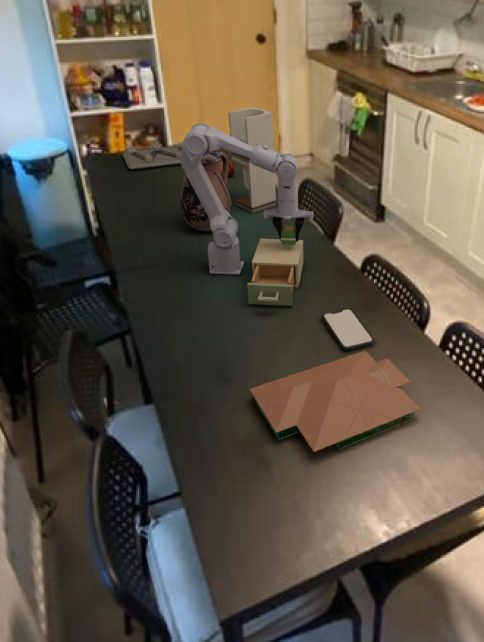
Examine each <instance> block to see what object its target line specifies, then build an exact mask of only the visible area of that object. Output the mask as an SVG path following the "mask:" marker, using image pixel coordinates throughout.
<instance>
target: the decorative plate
mask: <svg viewBox="0 0 484 642" xmlns="http://www.w3.org/2000/svg"><path fill="white" fill-rule="evenodd" d="M181 144H182V141H179V142H177V145H176V146H175V145H174V146H167V147H163V144H162V143H160V141H152V142H151V141H150V143H149V145H150V146H148V149H139V150H138V148H137V147H135V146H132V145H129V146H128V147H125V149H126V150H124V152H123V153H122V157H123V159H124V161H125V163H126V166H127V168H128V169H129V170H130V171H137V170H146V169H154V168H163V167H170V166H171V167H172V166H181V153H182V147H181Z"/></svg>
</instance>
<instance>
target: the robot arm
mask: <svg viewBox="0 0 484 642" xmlns="http://www.w3.org/2000/svg"><path fill="white" fill-rule="evenodd" d="M181 143H182V144H181V147H182V153H181V164H180V166H181V167H182V169H183V171H184V174H185V173H186V175H187V177H188V179H189V181H190V183H191V185H192V186H193V188H194V190H195V192H196V194H197V196H198V198H199V200H200V202H201V204H202V206H203V207H204V209H205V211H206V213H207V215H208V217H209V219H210V227H211V230H212V231H211V232H212V240H213V241H209V243H208V246H207V257H208V266H209V267H208V268H209V270H208V271H209V272H208V273H209V274H211V275H214V274H216V275H234V276H235V275H237V276H238V275H240V274H241V273H242V270H243V267H244V265H245V261H244V260H241V249H240V239H239V238H238V236H237V233H238V231H239V227H240V226H239V223H238V221H237V220H236V219H235V218H233V217H232V215H231V214H230V213H229V212H228V211H226V210H225V209H224V207H223V205H222V203H221V201H220V199H219V197H218V195H217V193H216V191H215V189H214V187H213V186H212V184H211V182H210V180H209V178H208V176H207V174H206V172H205V170H204V168H203V166H202V164H201V159H202V157H203V154H204V153H205V152H206V153H207V150H208V149H209V151H208V152H209V153H214V152H217V151H220V150H224V151H227V152H230V153H231V154H232V153H235V154H238V155H241V156H244V157H247V158H249V159H250V161H251V163H252V164H253V165H255V166H258V167H260V168H262V169H265V170H267V171H270V172H272V173H275V176H277V201H278V202H277V203H278V204H277V205H278V208H272V209H263V219H268V218H272V220H271V222H272V223H271V224H272V225H273V227H274V228H275V230H276V232H277V234H278V239H281V231H282V227H283V220H288V221H289V220H292V219H295V222H294V225H295V227H296V242H298V240H300V238H299V237H300V233H301V230H302V228H303V226H304V225H305V224H304V223H305V220H309V221H313V220H314V211H313V210H312V211H311V210H305V209H299V187H298V186H299V185H298V183H299V182H298V176H297V175H298V167H299V163H298V160H297V158H296V157H295V156H294V155H293V154H291V153H284V152H278V151H275V150H274V151H273V150H271V149H268V146H267V145H264V146H261V145H258V146H255V147H252V146H250V145H248V144H246V143H244V142H242V141H240V140H238V139H236V138H233V137H231V136H230V134H228V133H225V132H223V131H221V130H219V129H218V128H216V127H214V126H209V125H207V124H206V123H202V122H199V123H195V124H194V125H193V126H192V127H191V128H190V131H189V132H188V133H187V134H186V135H185V137H184V138H183V140H182V141H181ZM280 241H281V240H280Z"/></svg>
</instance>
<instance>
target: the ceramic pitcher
mask: <svg viewBox="0 0 484 642" xmlns="http://www.w3.org/2000/svg"><path fill="white" fill-rule="evenodd" d="M221 161H223V171H222V176H221V174H220V172H219V169H218V162H221ZM228 161H229V159H228V156H227V155H226V153H225V152H224V151H215V152H209V151H208V152H207V151H206V152H205V153H204V154H203V157H202V159H201V164H202V166H203V168H204V170H205V172H206V174H207V176H208V178H209V180H210V182H211V184H212V186H213V187H214V189H215V191H216V193H217V195H218V197H219V199H220V201H221V203H222V205H223V207H224V209H225V210H226V211H228V212H229V213H230V215H231V214H232V211H233V205H232V199H231V196H230V193H229V190H228V188H227V184H228V169H229V162H228ZM179 200H180V203H179V204H180V211H181V215H182V216H183V219H184V221H185V222H186V223H187V224H188V225H189V226H190V227H191V228H193V229H195V230H197V231H200V232H212V230H211V227H210V219H209V217H208V215H207V213H206V211H205V209H204V207H203V206H202V204H201V202H200V200H199V198H198V196H197V194H196V192H195V190H194V188H193V186H192V185H191V183H190V181H189V179H188V177H187V175H186V173H185V172H184V177H183V180H182V186H181V192H180V199H179Z"/></svg>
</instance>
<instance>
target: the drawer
mask: <svg viewBox="0 0 484 642" xmlns="http://www.w3.org/2000/svg"><path fill="white" fill-rule="evenodd" d="M294 283H295V266H276V265H256V268H255V271H254V274H253V273H252V277H251V282H247V285H246V288H247V299H248V300H247V301H248V304H249V305H271V306H293V303H294V302H293V291H294V288H295V287H294Z"/></svg>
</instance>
